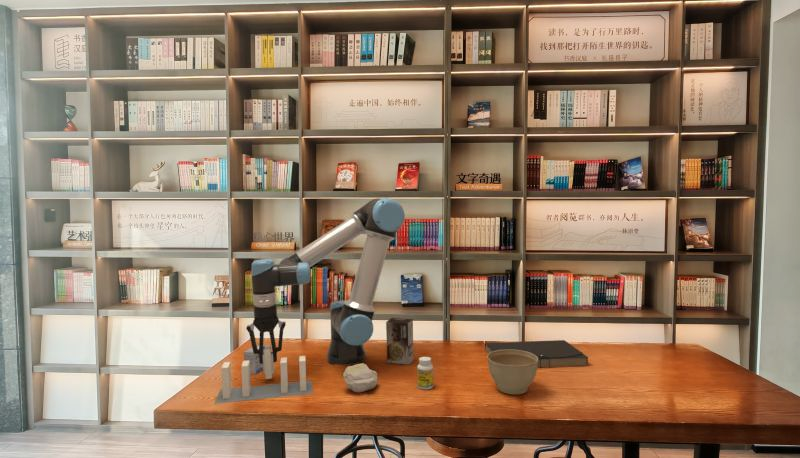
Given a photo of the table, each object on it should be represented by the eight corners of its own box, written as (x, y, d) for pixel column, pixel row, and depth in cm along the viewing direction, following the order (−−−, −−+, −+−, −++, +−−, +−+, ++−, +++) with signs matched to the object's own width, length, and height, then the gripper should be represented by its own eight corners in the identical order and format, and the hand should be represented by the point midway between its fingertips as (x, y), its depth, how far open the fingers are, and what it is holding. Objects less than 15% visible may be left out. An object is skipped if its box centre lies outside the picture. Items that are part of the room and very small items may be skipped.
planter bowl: (535, 381, 161) (536, 350, 161) (539, 401, 146) (540, 367, 145) (487, 378, 165) (487, 347, 164) (486, 397, 149) (486, 364, 148)
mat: (311, 381, 164) (311, 380, 164) (312, 394, 153) (312, 393, 153) (220, 390, 158) (220, 389, 157) (214, 404, 147) (214, 403, 147)
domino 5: (306, 384, 161) (305, 355, 160) (306, 390, 155) (305, 360, 155) (300, 385, 160) (299, 356, 159) (300, 391, 155) (299, 361, 154)
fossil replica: (384, 386, 159) (359, 384, 164) (383, 361, 160) (358, 359, 164) (365, 397, 149) (339, 394, 154) (364, 370, 149) (338, 368, 154)
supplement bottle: (435, 384, 160) (434, 356, 159) (431, 390, 155) (431, 362, 154) (419, 382, 162) (419, 355, 161) (415, 388, 157) (415, 360, 156)
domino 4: (287, 386, 159) (287, 357, 159) (287, 392, 154) (286, 362, 153) (281, 386, 159) (280, 357, 158) (281, 393, 154) (280, 363, 153)
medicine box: (255, 375, 170) (254, 352, 170) (244, 374, 171) (243, 351, 171) (266, 367, 178) (265, 345, 178) (255, 367, 179) (254, 344, 178)
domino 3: (272, 372, 167) (271, 345, 166) (271, 378, 162) (270, 349, 161) (266, 373, 166) (265, 345, 166) (265, 379, 161) (264, 350, 161)
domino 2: (250, 389, 157) (249, 360, 156) (249, 396, 152) (247, 365, 151) (244, 390, 156) (243, 360, 156) (242, 396, 151) (241, 366, 151)
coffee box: (414, 359, 185) (413, 318, 183) (409, 365, 179) (408, 323, 177) (392, 357, 188) (391, 317, 186) (386, 362, 182) (385, 321, 180)
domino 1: (231, 391, 155) (230, 361, 155) (229, 398, 150) (228, 367, 150) (225, 392, 155) (224, 362, 154) (222, 398, 150) (221, 368, 149)
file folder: (500, 360, 173) (484, 340, 197) (500, 371, 173) (484, 350, 197) (588, 356, 175) (562, 338, 199) (588, 367, 175) (562, 347, 199)
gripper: (240, 309, 157) (245, 378, 159) (287, 305, 160) (291, 373, 162) (243, 304, 164) (247, 370, 166) (287, 300, 167) (291, 365, 169)
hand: (269, 371), depth 164 cm, fingers closed on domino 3, 2 cm apart
